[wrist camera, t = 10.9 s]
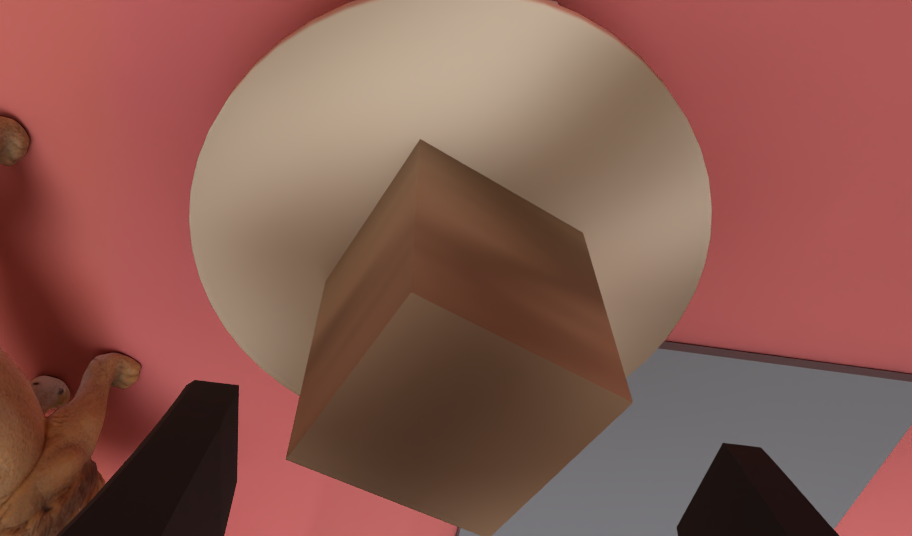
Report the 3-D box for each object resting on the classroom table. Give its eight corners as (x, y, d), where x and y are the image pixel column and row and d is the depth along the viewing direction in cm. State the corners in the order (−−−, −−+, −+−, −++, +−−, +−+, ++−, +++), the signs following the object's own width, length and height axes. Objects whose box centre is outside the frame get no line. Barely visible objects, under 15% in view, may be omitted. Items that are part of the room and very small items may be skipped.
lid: (813, 173, 16) (968, 347, 11) (511, 471, 21) (531, 676, 16) (348, -151, 12) (290, -92, 8) (124, 304, 17) (9, 504, 13)
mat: (933, 377, 24) (940, 385, 24) (760, 614, 32) (764, 623, 32) (518, 321, 23) (519, 329, 23) (441, 584, 31) (441, 593, 30)
